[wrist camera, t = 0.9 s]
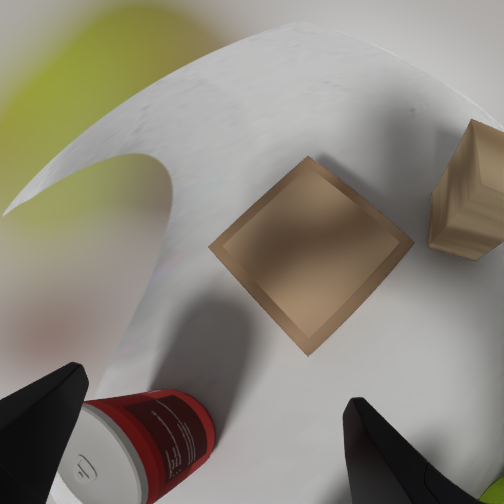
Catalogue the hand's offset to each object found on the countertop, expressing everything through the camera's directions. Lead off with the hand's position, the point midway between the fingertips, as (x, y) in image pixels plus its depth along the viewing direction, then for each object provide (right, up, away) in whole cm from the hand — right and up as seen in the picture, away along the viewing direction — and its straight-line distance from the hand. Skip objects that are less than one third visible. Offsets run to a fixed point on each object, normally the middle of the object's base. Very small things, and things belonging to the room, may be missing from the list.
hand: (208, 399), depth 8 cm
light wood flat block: (+6, +4, +14) cm, 16 cm away
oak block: (+19, +7, +12) cm, 23 cm away
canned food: (-5, -11, +12) cm, 17 cm away
